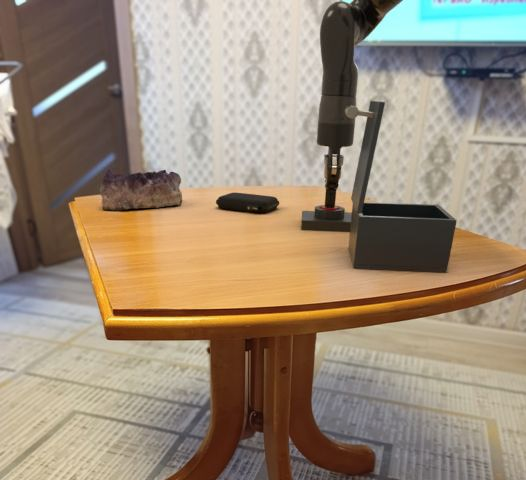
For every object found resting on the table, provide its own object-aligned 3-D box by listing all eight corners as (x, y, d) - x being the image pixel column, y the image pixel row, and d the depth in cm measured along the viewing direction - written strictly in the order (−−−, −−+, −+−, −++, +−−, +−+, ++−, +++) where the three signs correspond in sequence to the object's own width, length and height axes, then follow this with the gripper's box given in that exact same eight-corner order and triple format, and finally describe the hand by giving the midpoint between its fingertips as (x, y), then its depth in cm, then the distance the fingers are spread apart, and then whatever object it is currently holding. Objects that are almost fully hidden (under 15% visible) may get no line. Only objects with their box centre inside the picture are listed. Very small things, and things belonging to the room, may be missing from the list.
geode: (112, 215, 118) (103, 170, 115) (97, 213, 127) (88, 171, 124) (190, 204, 128) (184, 162, 125) (171, 202, 138) (165, 163, 134)
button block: (353, 222, 118) (355, 204, 116) (357, 232, 109) (359, 213, 107) (301, 220, 118) (302, 202, 117) (301, 230, 109) (302, 211, 108)
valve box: (430, 251, 97) (438, 204, 93) (446, 272, 85) (456, 220, 81) (348, 248, 98) (352, 201, 94) (353, 268, 86) (358, 216, 82)
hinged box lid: (375, 100, 86) (345, 96, 86) (385, 102, 75) (351, 97, 75) (355, 199, 93) (328, 195, 93) (361, 213, 82) (331, 209, 82)
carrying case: (210, 209, 126) (264, 216, 121) (210, 197, 125) (264, 203, 120) (230, 202, 135) (281, 208, 130) (230, 190, 134) (282, 196, 128)
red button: (336, 213, 114) (337, 205, 113) (337, 217, 111) (338, 209, 110) (320, 213, 114) (321, 205, 113) (321, 216, 111) (321, 208, 110)
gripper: (357, 123, 98) (348, 214, 106) (352, 119, 109) (344, 202, 117) (318, 121, 98) (312, 212, 106) (317, 118, 110) (312, 200, 118)
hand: (329, 206), depth 112 cm, fingers closed
